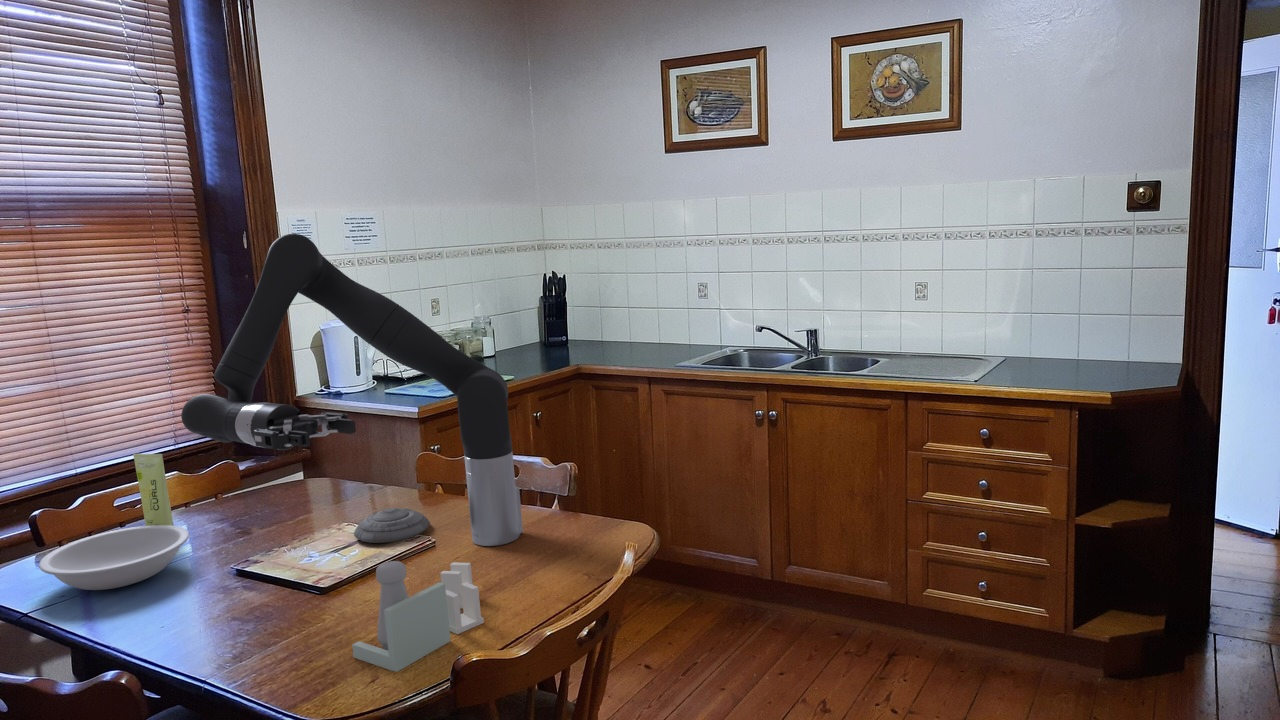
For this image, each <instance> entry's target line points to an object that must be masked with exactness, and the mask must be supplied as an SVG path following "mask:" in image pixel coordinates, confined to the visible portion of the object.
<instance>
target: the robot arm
mask: <svg viewBox="0 0 1280 720" xmlns="http://www.w3.org/2000/svg"><path fill="white" fill-rule="evenodd" d="M298 294H300V295H302V296H303V297H306V298H308V299H309V300H311V301H313V302H314V303H316V304H318V305H320V306H321V307H323V308H324V309H325V310H327V311H328V312H330V314H332V315H333V316H335V318H337V319H338V320H339V321H340V322H341V323H342V324H344V325H345V326H346V327H347V328H348V329H350V331H352V332H353V333H354V334H356V335H357V336H358V337H359V338H361V339H362V340H364V342H366V343H367V344H369V345H370V346H371V347H373V348H374V349H376V350H377V351H379V352H380V353H382V354H383V355H385V356H386V357H387V358H389V359H390V360H393V361H395V362H396V363H399V364H401V365H402V366H404V367H407V368H409V369H412V370H414V371H417V372H419V373H420V374H423V375H426V376H429V377H430V378H432V379H434V380H435V381H437V382H438V383H440V384H441V385H442V386H444V387H445V388H446V389H447V390H448V391H450V392H451V393H452V394H454V396H455V397H456V398H457V399H456V401H457V403H456V404H457V413H458V415H457V416H458V422H459V431H460V440H461V444H462V447H463V455H464V457H463V458H464V465H465V477H466V487H467V497H468V498H467V499H468V509H469V510H468V511H469V518H470V519H469V521H470V527H471V528H470V529H471V530H470V531H471V538H472V543H474V544H475V545H478V546H483V547H491V546H492V547H495V546H502V545H507V544H510V543H512V542H514V541H516V540H517V539H519V537H520V535H521V534H523V533H524V529H523V518H522V509H521V508H522V507H521V506H522V504H521V495H520V487H519V485H516V477H515V476H516V475H515V467H514V466H515V465H514V454H513V441H512V435H511V428H510V419H509V409H508V407H509V406H508V398H509V387H508V384H507V381H505V378H504V377H503V376H502V375H501V374H499V372H497V371H496V370H494V369H493V368H490V367H488V366H487V365H485V364H483V363H481V362H479V361H478V360H476V359H474V358H473V357H470V356H468V355H467V354H465V353H463V352H462V351H461V350H459V349H457V348H456V347H454V346H453V345H452V344H451V343H450V342H448V341H447V340H446V339H445V338H443V337H442V336H441V335H440V334H439V333H437V332H436V331H435V330H433V329H432V328H431V327H430V326H428V325H427V324H426V323H425V322H423V320H420V318H418V317H417V316H416V315H414V314H413V313H412V312H410V311H408V310H407V309H405V307H403V306H401V305H400V304H399V303H397V302H395V301H393V299H390V298H389V297H387V296H385V295H383V294H381V293H379V292H378V291H376V290H373V289H371V288H369V287H366V286H364V285H363V284H361V283H359V282H357V281H354V280H353V279H351V278H350V277H349V276H347V274H345V273H344V272H343V271H341V270H340V269H339V268H337V267H336V266H335V265H333V263H331V261H329V260H328V259H327V258H326V257H325V256H323V254H322V253H321V252H320V251H319V248H318V247H317V246H316V244H315V243H314V242H313V240H311V239H310V238H308V237H307V236H306V235H302V234H299V233H288V234H284V235H282V236H279V237H278V238H276V239H275V240H274V241H273V242H272V244H271V245H270V246H269V249H268V252H267V254H266V258H265V262H264V265H263V268H262V271H261V274H260V278H259V280H258V284H257V287H256V289H255V291H254V294H253V296H252V298H251V301H250V303H249V305H248V307H247V310H246V312H245V313H244V316H243V317H242V319H241V321H240V324H239V325H238V327H237V329H236V330H235V333H234V334H233V336H232V338H231V340H230V342H229V344H228V346H227V348H226V349H225V351H224V353H223V355H222V357H221V359H220V361H219V363H218V365H217V367H216V369H215V371H214V376H213V377H214V380H215V381H216V382H218V383H219V384H220V385H222V386H224V387H225V388H226V389H227V392H228V393H227V398H225V397H223V396H219V395H215V394H209V393H201V394H197V395H195V396H193V397H191V398H190V399H188V401H186V403H184V405H183V407H182V409H181V414H180V416H181V418H180V419H181V421H182V424H183V425H184V427H185V428H186V429H187V431H189V432H191V433H194V434H196V435H199V436H203V437H205V438H208V439H211V440H214V441H218V442H220V443H225V444H226V443H231V442H236V443H241V444H249V445H250V446H253V447H259V448H264V449H271V450H278V451H287V450H290V449H293V448H294V447H295V446H296V447H303V448H307V447H310V446H311V438H321V437H327V436H328V435H329V434H333V433H338V434H339V433H340V434H349V435H352V434H355V433H356V431H357V429H356V421H355V420H354V419H349V414H348V413H341V412H331V411H330V412H326V411H322V412H321V413H320V414H316V415H315V414H314V415H310V414H307V413H306V414H303V413H302V412H301V411H300V409H298V407H296V406H294V405H291V404H284V403H275V402H274V403H273V402H266V401H265V402H252V400H253V396H254V390H255V387H256V384H257V382H258V381H259V380H258V379H260V376H261V375H262V373H263V370H264V369H265V366H266V365H267V362H268V360H269V359H270V356H271V353H272V352H273V348H274V347H275V343H276V340H277V338H278V336H279V332H280V329H281V326H282V323H283V321H284V319H285V316H286V314H287V312H288V310H289V309H290V306H291V305H292V303H293V301H294V300H295V298H296V297H297V295H298ZM319 426H321V431H319Z"/></svg>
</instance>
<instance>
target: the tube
mask: <svg viewBox="0 0 1280 720" xmlns="http://www.w3.org/2000/svg"><path fill="white" fill-rule="evenodd" d="M163 458H164V456H163V454H162V453H147V454H146V453H133V460H134V461H133V462H134V466H135V471H136V472H135V473H136V477H137V482H138V489H139V494H140V500H141V505H142V506H141V507H142V511H143V517H144V519H143V520H144V525H145V526H150V525H170V526H175V525H174V521H173V514H172V508H171V507H172V506H171V501H170V497H169V490H168V484H167V483H168V482H167V477H166V472H165V465H164V459H163Z"/></svg>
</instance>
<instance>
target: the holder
mask: <svg viewBox="0 0 1280 720" xmlns="http://www.w3.org/2000/svg"><path fill="white" fill-rule="evenodd" d="M408 597H409V598H407V599H405V600H403V601H401V602H399V603H397V604H395V605H392V606H390V607H388V608H386V609H384V616H385V625H386V634H387V643H388V651H387V650H385V649H384V648H381V647H378V646H376V645H372V644H369V643H366V642H363V641H360V640H358V641H357V642H355V643H352V645H351V646H352V647H351V648H352V654H353V655H352V656H353V658H354V659H357V660H359V661H363V662H366V663H368V664H370V665H371V664H372V665H374V666H378V667H379V668H380V667H381V668H383V669H386V670H389V671H391V672H395V673H397V672H399V671H401V670H402V669H405V668H407V667H408V666H410V665H412V664H413V663H415V662H416V661H417V662H418V660H420V659H422V658H424V657H425V656H428V655H429V654H431V653H432V652H434V651H436V650H437V649H440V648H441V647H443V646H445V645H446V644H449V643H450V642H451V639H452V638H451V631H450V629H449V619H448V609H447V599H446V589H445V584H444V583H441V581H440V582H438V583H437V582H436V583H435V584H433V585H431V586H429V587H427V588H425V589H422V590H421V591H419V592H417V593H415V594H412V595H411V596H408Z"/></svg>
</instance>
